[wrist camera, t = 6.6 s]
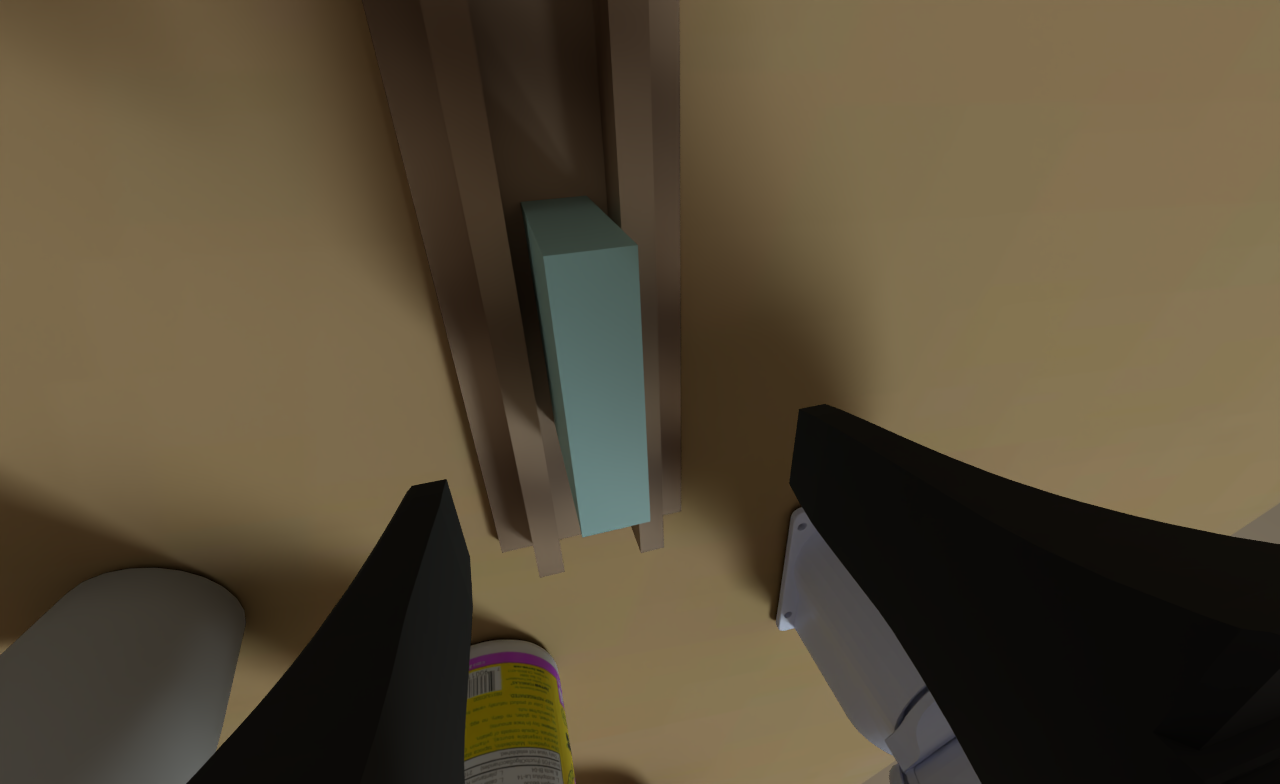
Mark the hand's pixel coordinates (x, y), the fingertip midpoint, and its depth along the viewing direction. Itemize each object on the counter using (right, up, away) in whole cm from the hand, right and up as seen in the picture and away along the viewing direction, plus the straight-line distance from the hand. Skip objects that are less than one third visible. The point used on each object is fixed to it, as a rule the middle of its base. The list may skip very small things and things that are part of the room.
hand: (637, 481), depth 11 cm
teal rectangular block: (-2, +4, +7) cm, 9 cm away
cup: (-19, -7, +9) cm, 23 cm away
